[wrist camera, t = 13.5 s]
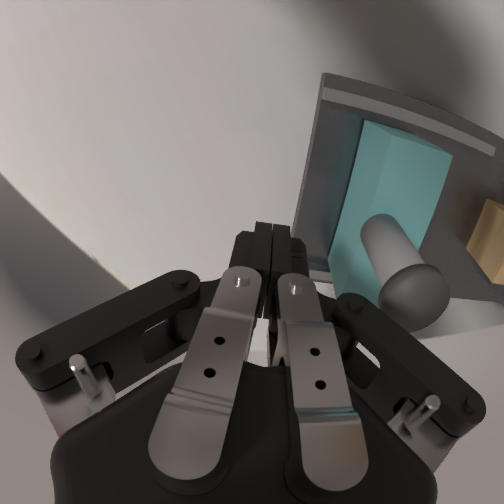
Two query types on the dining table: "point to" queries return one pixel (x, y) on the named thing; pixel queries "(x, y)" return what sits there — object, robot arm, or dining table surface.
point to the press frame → (452, 195)
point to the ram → (391, 226)
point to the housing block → (489, 241)
